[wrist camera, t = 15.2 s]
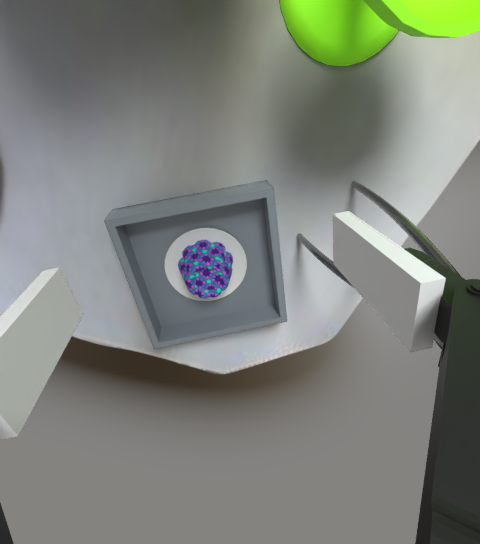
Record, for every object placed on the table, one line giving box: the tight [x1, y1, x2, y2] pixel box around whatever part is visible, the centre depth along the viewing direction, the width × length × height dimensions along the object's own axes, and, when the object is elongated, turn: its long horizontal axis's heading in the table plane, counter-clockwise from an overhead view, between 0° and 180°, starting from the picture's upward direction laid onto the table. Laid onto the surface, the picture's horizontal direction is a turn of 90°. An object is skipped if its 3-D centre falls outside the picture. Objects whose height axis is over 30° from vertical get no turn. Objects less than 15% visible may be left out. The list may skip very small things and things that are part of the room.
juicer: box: [297, 181, 460, 349], centre depth 33 cm, size 10×11×30 cm
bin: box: [104, 180, 287, 349], centre depth 45 cm, size 21×21×4 cm
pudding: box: [164, 228, 247, 301], centre depth 44 cm, size 12×12×5 cm
